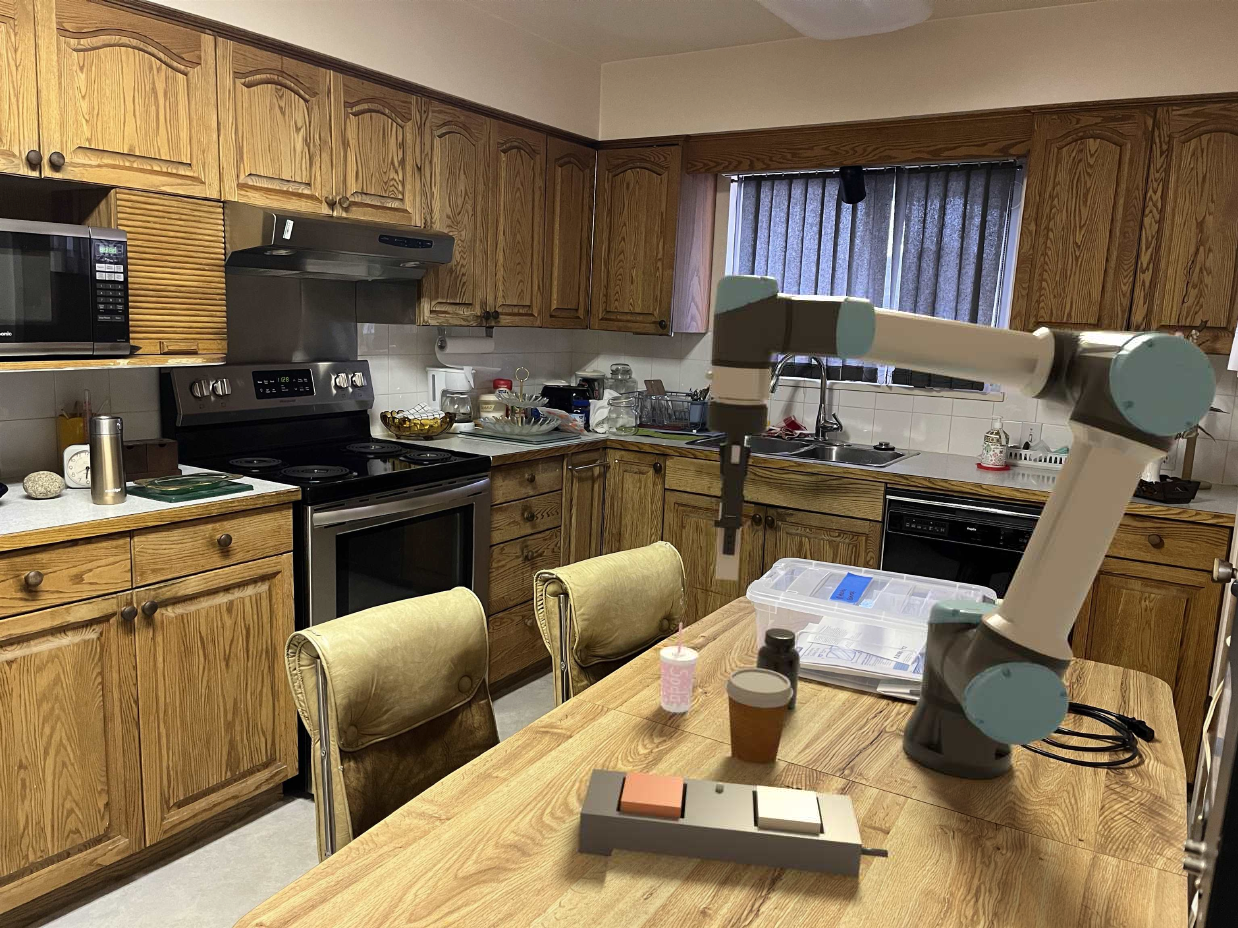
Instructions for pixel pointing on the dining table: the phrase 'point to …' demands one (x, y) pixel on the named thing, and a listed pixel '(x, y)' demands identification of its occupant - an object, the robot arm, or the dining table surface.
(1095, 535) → the robot arm
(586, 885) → the dining table surface
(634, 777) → the button orange
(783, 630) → the supplement bottle
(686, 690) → the beverage cup
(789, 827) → the button ivory
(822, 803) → the push button control box
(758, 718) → the disposable coffee cup
